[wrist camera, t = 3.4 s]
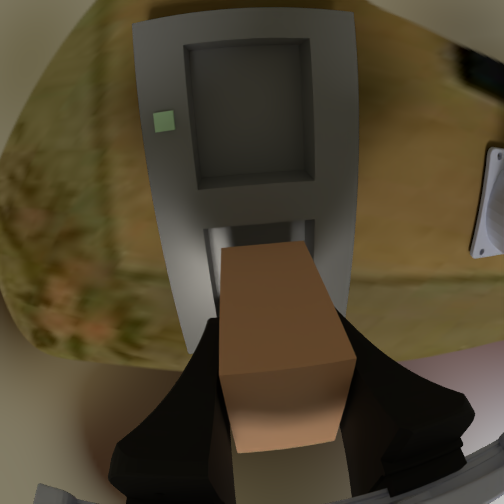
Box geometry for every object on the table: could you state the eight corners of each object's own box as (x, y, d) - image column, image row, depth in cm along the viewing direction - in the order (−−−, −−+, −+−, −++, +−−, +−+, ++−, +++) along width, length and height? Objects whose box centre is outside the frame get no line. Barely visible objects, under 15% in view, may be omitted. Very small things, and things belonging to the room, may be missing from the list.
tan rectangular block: (303, 240, 14) (356, 358, 8) (301, 323, 16) (334, 440, 10) (221, 248, 14) (219, 375, 8) (232, 330, 16) (237, 453, 10)
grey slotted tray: (334, 22, 12) (355, 11, 10) (331, 311, 20) (343, 339, 18) (146, 33, 12) (130, 22, 9) (191, 325, 20) (188, 356, 17)
